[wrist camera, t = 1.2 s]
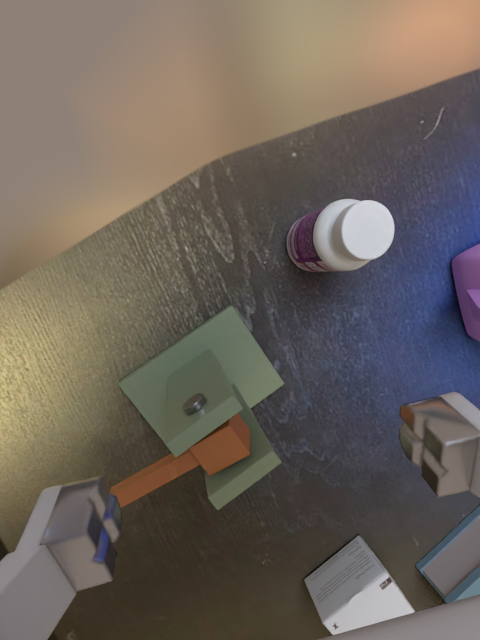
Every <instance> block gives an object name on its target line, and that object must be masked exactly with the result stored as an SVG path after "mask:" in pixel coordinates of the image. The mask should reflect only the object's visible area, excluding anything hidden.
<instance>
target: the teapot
mask: <svg viewBox="0 0 480 640" xmlns="http://www.w3.org/2000/svg"><path fill="white" fill-rule="evenodd" d="M452 271H453V277H454V282H455V287H456V292H457V297H458V301H459V306H460V310H461V314H462V318H463V321H464V325H465V328H466V331H467V334H468V335H469V336H471V337H472V338H474V339H476V340H478V341H480V244H478V245H475V246H473V247H471V248H469V249H468V250H466V251H464V252H462V253H460V254H459V255H457V256H456V257H455V258H454V259H453V260H452Z"/></svg>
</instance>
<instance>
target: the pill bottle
mask: <svg viewBox="0 0 480 640" xmlns="http://www.w3.org/2000/svg"><path fill="white" fill-rule="evenodd" d="M393 237H394V221H393V218H392V216H391V214H390V212H389V211H388V210H387V208H386V207H385V206H383V205H382V204H380V203H378V202H376V201H371V200H365V201H358V200H354V199H343V200H338V201H335V202H333V203H331V204H329V205H327V206H325V207H322V208H320V209H318V210H316V211H314V212H312V213H309V214H307V215H305V216H303V217H301V218H299V219H298V220H297V221H296V222H295V223H294V224H293V225H292V227H291V228H290V230H289V232H288V235H287V251H288V254H289V257H290V258H291V260H292V261H293V262H294V264H296V265H297V266H298V267H299V268H301V269H303V270H306V271H310V272H329V271H351V270H355V269H358V268H360V267H362V266H364V265H365V264H367V263H368V262H369V261H370V260H372V259H375V258H377V257H379V256H381V255H382V254H384V253H385V252H386V251H387V249H388V248H389V247H390V245H391V243H392V240H393Z"/></svg>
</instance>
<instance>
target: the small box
mask: <svg viewBox="0 0 480 640" xmlns="http://www.w3.org/2000/svg"><path fill="white" fill-rule="evenodd" d="M304 581H305V584H306V586H307V589H308V591H309V593H310V595H311V598H312V600H313V602H314V604H315V607H316V609H317V611H318V614H319V616H320V618H321V621H322V623H323V624H324V625H325V627H326V628H327V629H328V630H329V631H330V632H331V634H332V635H335V634H339V633H343V632H346V631H350V630H353V629H357V628H361V627H364V626H368V625H371V624H375V623H378V622H382V621H386V620H389V619H393V618H396V617H400V616H404V615H407V614H411V613H414V612H415V611H414V609H413V608H412V606H411V605H410V603H409V602H408V600H407V599H406V597H405V596H404V594H403V593H402V591H401V590H400V588H399V587H398V586H397V584H396V583H395V581H394V580H393V579H392V577H391V576H390V574H389V573H388V572H387V570H386V569H385V568H384V566H383V565H382V563H381V562H380V561H379V560H378V558H377V557H376V556H375V554H374V553H373V552H372V550H371V549H370V548H369V547H368V545H367V544H366V543H365V542H364V540H363V539H362V538H361V537H360V536H359V535H358V536H357V537H356V538H354V539H353V540H352V541H351V542H350V543H348V544H347V545H346V546H345V547H344V548H342V549H341V550H340V551H339V552H337V553H336V554H335V555H334V556H332V557H331V558H330V559H329V560H328V561H326V562H325V563H324V564H323V565H321V566H320V567H319V568H318V569H316V570H315V571H314V572H313V573H312V574H310V575H309V576H308V577H306V578H305V579H304Z"/></svg>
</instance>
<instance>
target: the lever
mask: <svg viewBox="0 0 480 640" xmlns="http://www.w3.org/2000/svg"><path fill="white" fill-rule="evenodd" d="M249 455H250V429H249V428H248V426H247V425H246V424H245V422H244V421H243V419H242V418H241V417H240V415H239V414H238V413H237V414H235V415H234V416H233V417H231V418H230V419H229V420H227V421H226V422H224V423H223V424H222V425H220V426H219V427H217V428H216V429H215V430H213V431H212V432H211V433H209V434H208V435H206V436H205V437H204V438H202V439H201V440H200V441H198V442H197V443H195V444H194V445H193V446H191V447H190V448H188V449H187V450H186V451H184V452H183V453H182V454H180V455H179V456H177V457H175V456H174V455H173V454H172V453H171V454H169V455H168V456H166V457H164V458H162V459H160V460H159V461H157V462H155V463H153V464H152V465H150V466H148V467H146V468H145V469H143V470H141V471H139V472H137V473H136V474H134V475H132V476H130V477H129V478H127V479H125V480H123V481H121V482H120V483H118V484H116V485H114V486H113V487H111V488H110V493H111V494H113V495H115V496H117V498H118V501H119V503H120V507H121V508H122V507H124V506H125V505H127V504H129V503H131V502H133V501H135V500H136V499H138V498H140V497H142V496H144V495H146V494H147V493H149V492H151V491H153V490H155V489H157V488H158V487H160V486H162V485H164V484H166V483H168V482H169V481H171V480H173V479H175V478H177V477H178V476H180V475H182V474H184V473H186V472H188V471H189V470H191V469H193V468H195V467H197V466H199V465H200V464H201V466H202V467H203V468H204V469H205V471H206V472H207V473H208V475H209V476H211V475H213V474H215V473H217V472H219V471H221V470H223V469H224V468H226V467H228V466H230V465H232V464H234V463H236V462H237V461H239V460H241V459H243V458H245V457H247V456H249Z"/></svg>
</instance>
